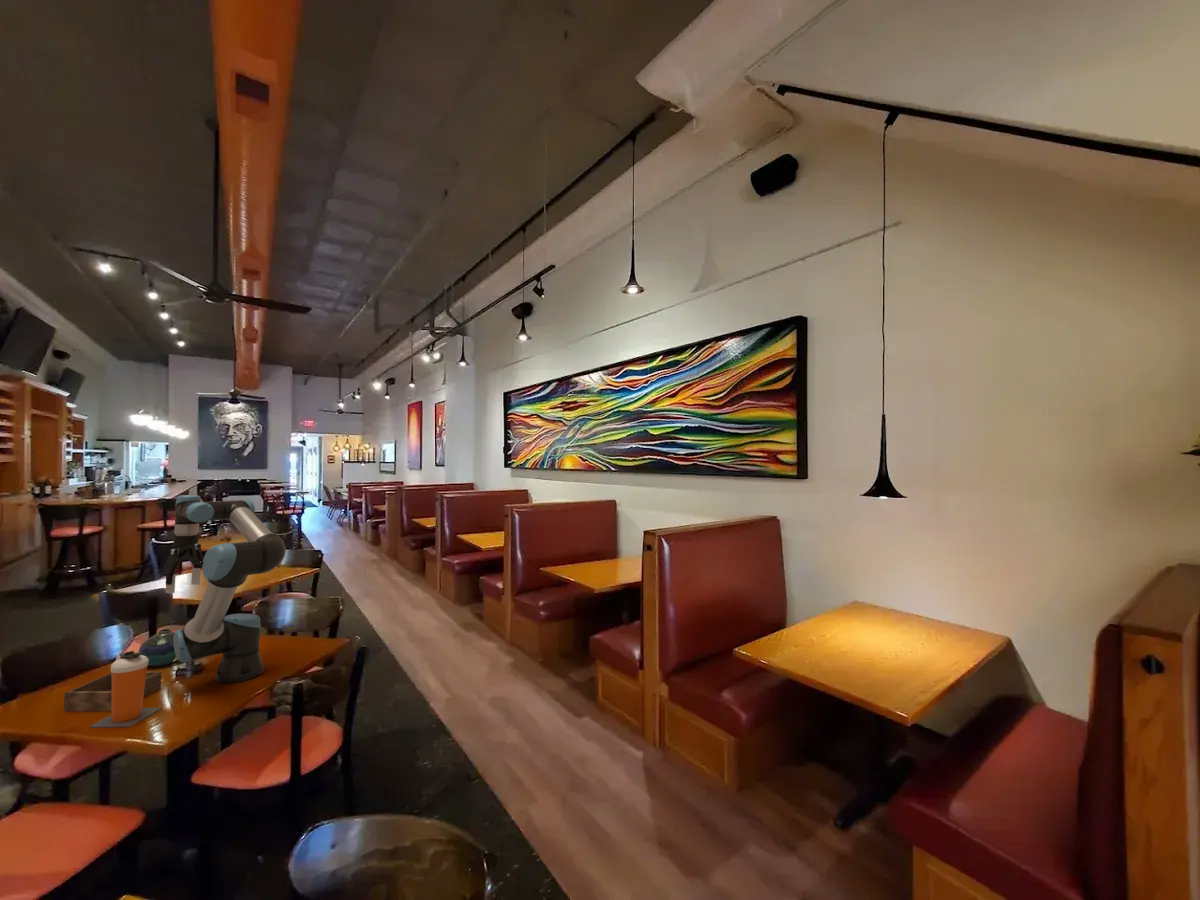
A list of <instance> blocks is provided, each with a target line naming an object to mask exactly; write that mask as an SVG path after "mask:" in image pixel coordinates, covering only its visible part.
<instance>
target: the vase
mask: <svg viewBox="0 0 1200 900" xmlns="http://www.w3.org/2000/svg"><path fill="white" fill-rule="evenodd" d="M174 633H175V631H173V630H172V629H171V628H164V629H161V630H158V631H157V633H156V634H154V635H152V636H150V637H149V638H147V639H146V640H144V641H143V642H142V643H141V644H140V645H139V648H138V652H137V653H142V655H144V656H146V657H147V658H148V666H147V667H163V666H168V665H170V663H171V664H173V663H174V662H173V660H174V659H175V657H176V655H175V650H174V642H173V637H174ZM172 662H173V663H172Z"/></svg>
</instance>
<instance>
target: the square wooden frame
mask: <svg viewBox="0 0 1200 900" xmlns="http://www.w3.org/2000/svg"><path fill="white" fill-rule="evenodd" d="M161 684H162V671H146V680H145V688H144V697H143V698H145V697H147V696H149V695H151V694H153V693H154V692H157V691H158V690H160V689H161V687H162V686H161ZM63 700H64V701H63V712H111V672H109V673H107V674H104V675H102V676H100V677H97V678H95V679H92V680H90V681H88V682H85V683H84V684H81V685H79V686H76V687H74V688H72V689H71V690H67V691H65V692H64V698H63Z"/></svg>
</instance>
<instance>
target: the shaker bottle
mask: <svg viewBox="0 0 1200 900" xmlns="http://www.w3.org/2000/svg"><path fill="white" fill-rule="evenodd" d="M148 667H149V666H148V658H147V657H146V656H144V655H142V653H138V652H136V651H134V650H131V651H127V652H122V653H120V654H117V655H116V658H115V660H114V662H112V663H111V665H110V672H109V673H111V690H110V691H111V711H110V712H111V714H110V715H111V720H112V721H113V722H123V721H128V720H131V719H134V718H136V717H138V716H140V715H141V713H142V708H143V705H144V704H143V703H144V698H145V697H144V688H145V680H146V672H148V671H147V670H148Z"/></svg>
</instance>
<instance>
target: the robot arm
mask: <svg viewBox="0 0 1200 900" xmlns="http://www.w3.org/2000/svg"><path fill="white" fill-rule="evenodd" d="M175 499H176V500H175V504H174V505H175V509H174V510H175V513H174V532H173V534H174V536H173V541H172V542H173V545H174V546H176V548H170V549H169V550H168V556H167V557H166V561H165V563H164V565H163V568H162V570H161V573H160V575H161V576H163V577H165V594H175V592H176V591H175V589H176V578H177V577H176V576H177V575H176V574H175V573H176V572H177V570H178V568H179V567H180V565H181V563H182V562H183V561H185V559H188V560H189V562H190V564H191V565H192V566H193V568H191V569H192V570H191V583H190V585H197V586H198V585H200V581H201V573H202V575H203V576H204V578H205V579H206V581H207V585H206V587H205V589H204V593H203V595H202V597H201V600H200V602H199V604H198V607H197V610H196V612H195V615H194V617H193V618H191V619H190V620H189V621H188V622H186V625H185V626H184V628H180V629H177V630H176V631H174V632H175V633H174V637H173V642H174V650H175V655H176V657H177V659H178V660H177V662H179V663H186V662H194V661H196V660H201V659H204V658H208V657H212V656H217V655H220V654H222V658H221V661H220V663H219V665H218V667H217V670H216V673H215V681H216V682H217V683H222V684H233V683H239V682H245V681H248V679H249V680H251V678H252V679H254V678H256V677H255V676H257V675H259V674H260V673H261V672H262V671H263V672H264V663H263V661H262V657H261V654H260V640H261V639H260V638H261V628H262V625H261V617H260V616H259V615H257V614H255V613H231V614H228V615H226V614H227V612H228V610H229V607H230V606H231V603H232V601H233V598H234V596H235V594H236V591H237V590H238V587H241V586H242V585H243V584H244V583H245V582H246V581H247V578H248V576H252V575H259V574H265V573H268V572H270V571H272V570H274V569H276V568H277V567H278V566H279V565H280V564H281V563H282V562H283V560H284V558H285V556H286V549H287V548H286V544H285V541H284V540H283V539H282V537H280V536H279V535H278V534H276V533H274V532H273V533H272V531H271V530H270V529H269V528H268V527H267V526H266V525H265V524H264V523H263V522H262V521H261V520H260V519H259V518H258V517H257V516H256V514H255V511H256V510H255V509H256V507H255V505H254V502H253V501H251V500H244V499H243V500H242V499H241V500H221V501H219V500H218V501H217V500H216V501H202V500H201V496H200V495H197V494H194V495H193V494H187V495H186V494H184V495H178V496H176V498H175ZM226 520H227V521H230V522H231V524H232V525H234V527H235V528H236V529H237V530H238V532H239V533H240V534H241V535H242V537H244V539H245V540H246V541H241V542H225V543H220V544H216V545H212V546H211V547H209V548H208V549H207V551H206V552H205V555H204V554H203V551H202V544H201V543H199V533H200V523H205V522H206V523H207V522H210V521H226ZM198 543H199V544H198ZM201 570H202V572H201ZM260 675H261V674H260ZM260 675H259V676H260ZM253 677H254V678H253ZM257 677H258V676H257Z"/></svg>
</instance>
